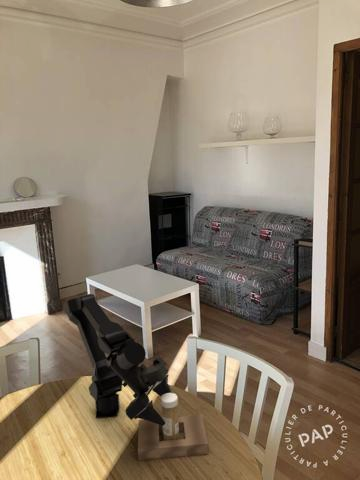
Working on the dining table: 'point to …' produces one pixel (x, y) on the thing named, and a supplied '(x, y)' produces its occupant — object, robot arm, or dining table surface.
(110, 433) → the dining table surface
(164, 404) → the sprinkles bottle
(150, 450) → the socket block
